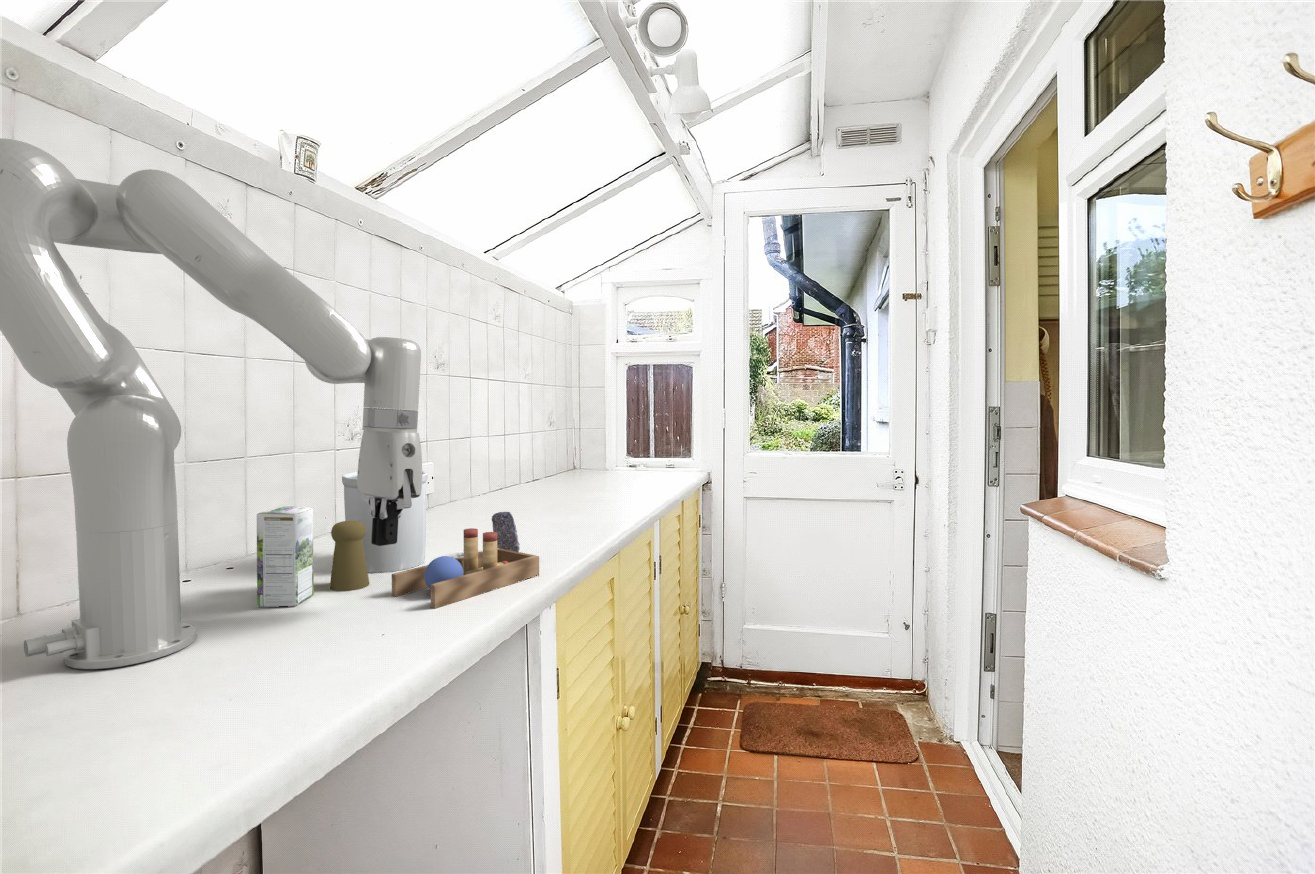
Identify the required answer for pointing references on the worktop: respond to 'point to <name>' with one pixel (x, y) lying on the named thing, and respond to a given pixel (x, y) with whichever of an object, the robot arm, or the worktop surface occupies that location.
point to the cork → (348, 557)
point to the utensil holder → (409, 530)
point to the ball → (442, 570)
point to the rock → (505, 531)
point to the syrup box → (284, 556)
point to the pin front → (482, 568)
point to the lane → (469, 578)
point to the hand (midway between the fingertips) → (384, 543)
